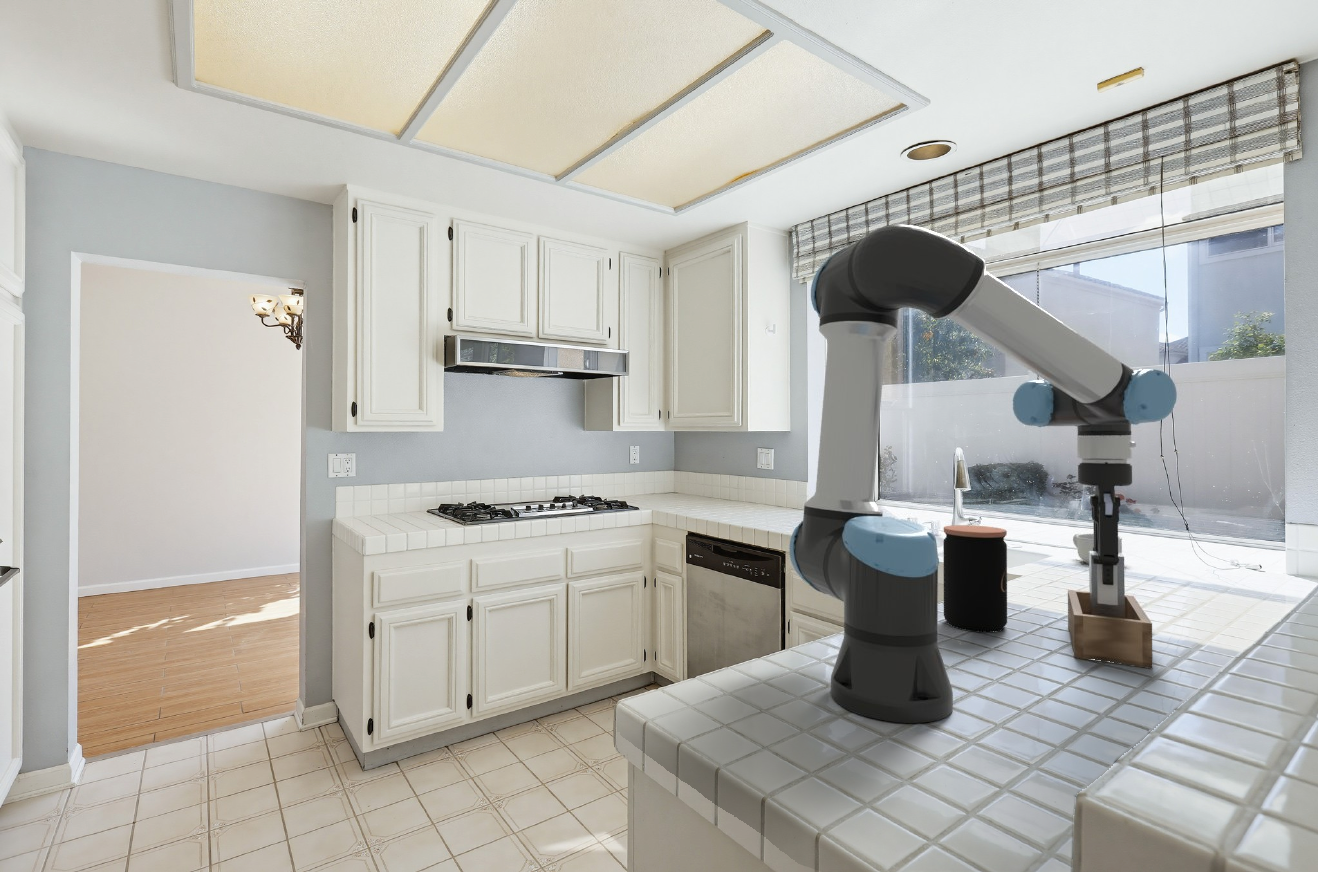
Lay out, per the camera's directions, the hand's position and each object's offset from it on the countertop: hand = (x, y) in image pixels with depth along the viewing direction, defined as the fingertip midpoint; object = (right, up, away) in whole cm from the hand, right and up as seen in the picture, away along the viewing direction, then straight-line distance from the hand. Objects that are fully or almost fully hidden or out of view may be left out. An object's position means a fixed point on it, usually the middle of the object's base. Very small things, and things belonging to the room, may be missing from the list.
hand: (1105, 600), depth 109 cm
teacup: (+50, -9, +77) cm, 92 cm away
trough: (0, -8, 0) cm, 8 cm away
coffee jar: (-16, -8, +12) cm, 22 cm away
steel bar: (0, -2, 0) cm, 2 cm away
